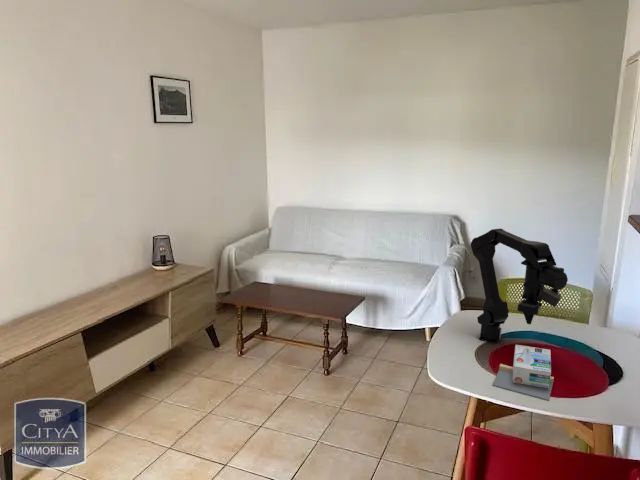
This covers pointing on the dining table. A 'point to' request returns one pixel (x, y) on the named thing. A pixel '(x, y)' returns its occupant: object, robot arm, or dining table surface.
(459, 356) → the dining table surface
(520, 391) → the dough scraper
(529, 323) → the robot arm
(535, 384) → the light bulb box
